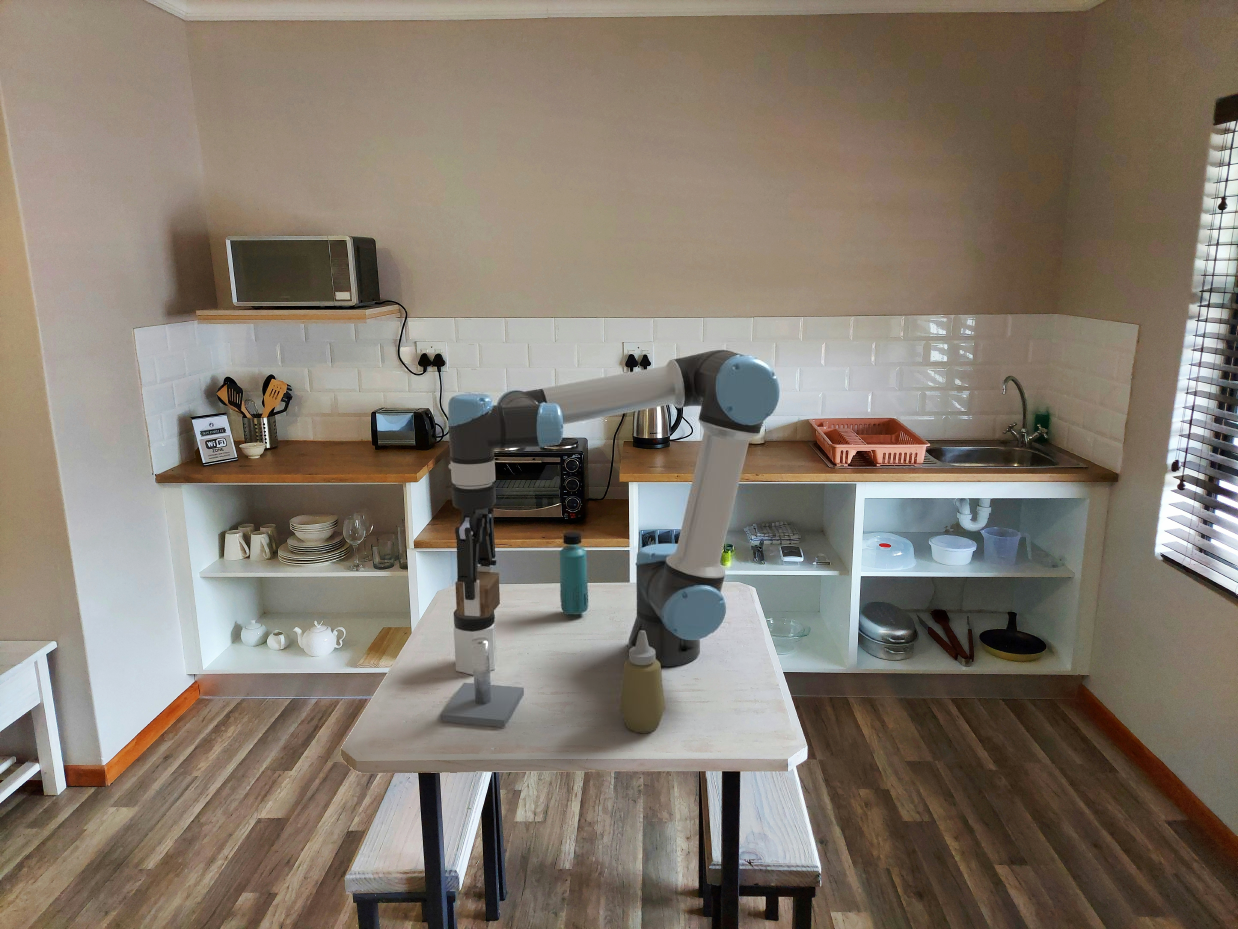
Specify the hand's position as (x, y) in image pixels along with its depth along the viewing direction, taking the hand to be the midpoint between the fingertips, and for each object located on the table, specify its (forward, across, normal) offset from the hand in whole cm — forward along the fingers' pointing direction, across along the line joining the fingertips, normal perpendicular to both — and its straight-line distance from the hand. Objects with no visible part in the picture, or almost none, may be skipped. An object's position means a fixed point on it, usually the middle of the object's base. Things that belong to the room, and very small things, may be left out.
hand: (479, 607), depth 155 cm
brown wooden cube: (0, 0, 0) cm, 0 cm away
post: (+19, 0, 0) cm, 19 cm away
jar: (+20, -16, -7) cm, 27 cm away
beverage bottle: (+20, -44, +7) cm, 49 cm away
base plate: (+20, 0, 0) cm, 20 cm away
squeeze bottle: (+20, +1, +30) cm, 36 cm away
